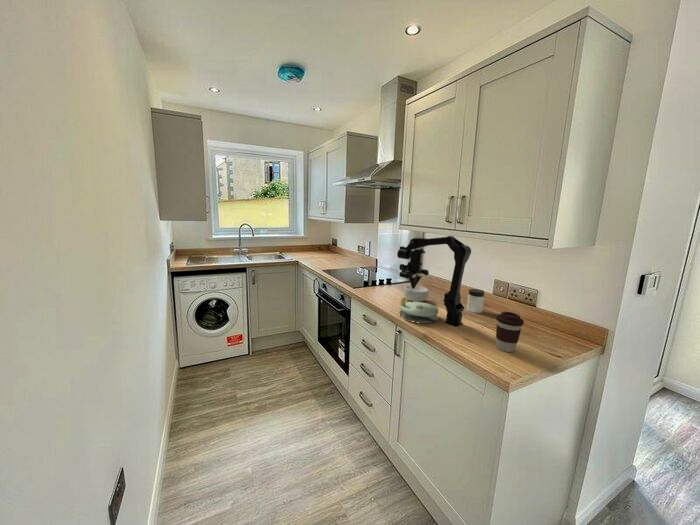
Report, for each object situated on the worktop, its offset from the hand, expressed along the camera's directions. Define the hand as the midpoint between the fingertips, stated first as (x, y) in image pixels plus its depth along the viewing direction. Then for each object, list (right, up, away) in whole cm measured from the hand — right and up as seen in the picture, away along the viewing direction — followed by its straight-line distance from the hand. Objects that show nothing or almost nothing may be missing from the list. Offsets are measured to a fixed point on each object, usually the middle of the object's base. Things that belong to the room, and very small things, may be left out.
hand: (413, 288), depth 161 cm
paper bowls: (+6, -10, +22) cm, 25 cm away
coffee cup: (+30, -22, -39) cm, 54 cm away
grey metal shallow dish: (+1, -14, -7) cm, 16 cm away
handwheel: (+1, -11, -8) cm, 13 cm away
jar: (+37, -14, +8) cm, 40 cm away
